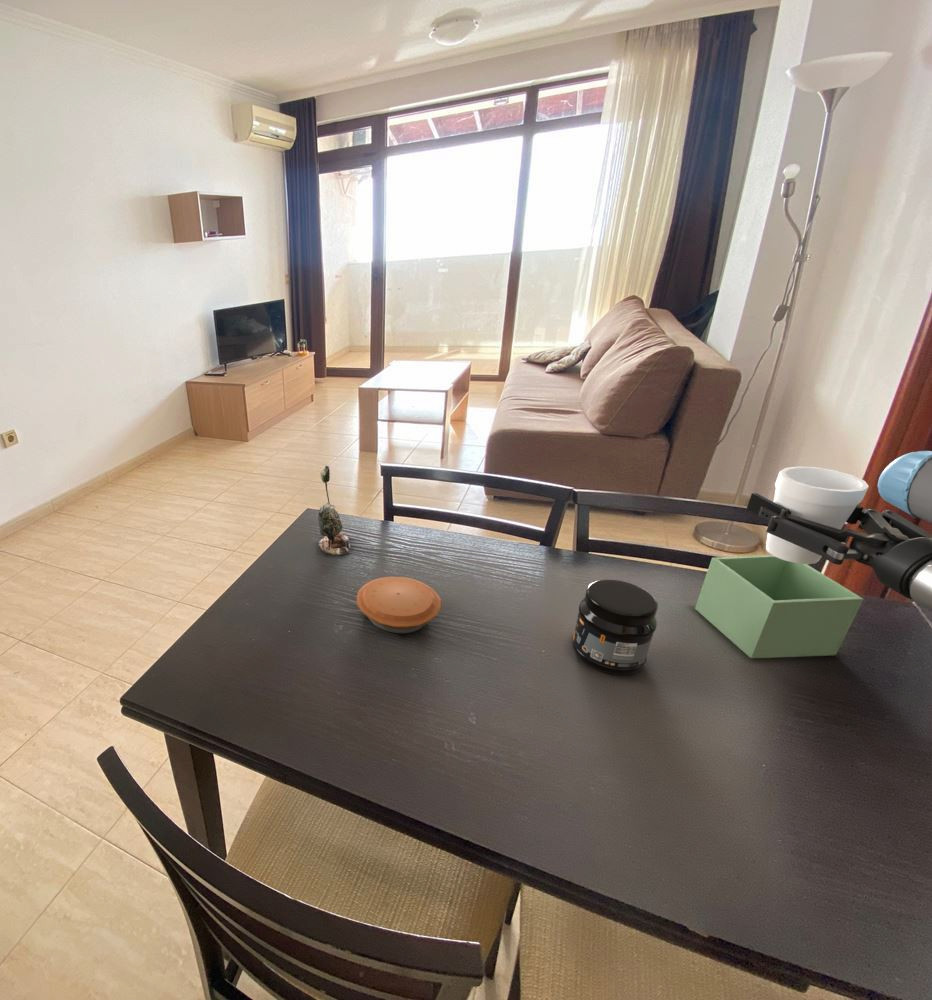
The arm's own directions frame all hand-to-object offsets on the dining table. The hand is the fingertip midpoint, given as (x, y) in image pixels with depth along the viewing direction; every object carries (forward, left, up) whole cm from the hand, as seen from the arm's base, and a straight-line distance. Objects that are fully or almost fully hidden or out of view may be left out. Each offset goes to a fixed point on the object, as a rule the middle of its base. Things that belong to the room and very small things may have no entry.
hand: (784, 499), depth 86 cm
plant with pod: (+70, -30, -23) cm, 80 cm away
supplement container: (+28, +9, -23) cm, 37 cm away
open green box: (0, +4, -23) cm, 23 cm away
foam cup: (0, +4, -8) cm, 9 cm away
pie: (+60, -4, -23) cm, 64 cm away
